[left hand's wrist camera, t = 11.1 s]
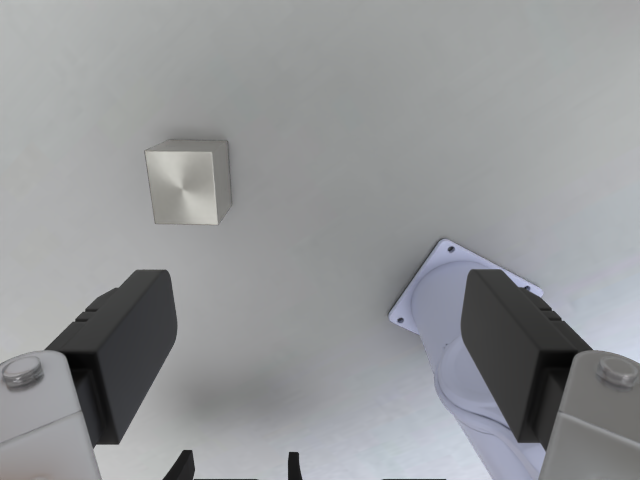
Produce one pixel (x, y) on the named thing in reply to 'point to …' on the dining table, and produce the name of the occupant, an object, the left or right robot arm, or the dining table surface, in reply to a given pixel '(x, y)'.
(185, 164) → the block
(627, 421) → the left robot arm
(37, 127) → the dining table surface
